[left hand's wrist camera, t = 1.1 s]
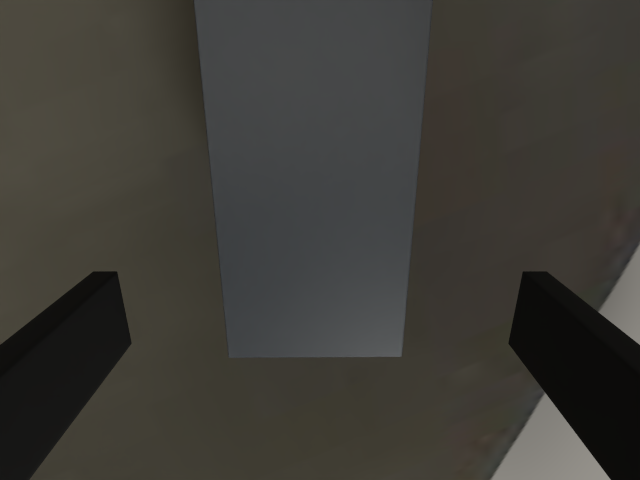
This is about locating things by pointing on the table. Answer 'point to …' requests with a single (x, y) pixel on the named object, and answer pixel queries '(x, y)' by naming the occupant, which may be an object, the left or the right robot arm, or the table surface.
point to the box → (314, 169)
